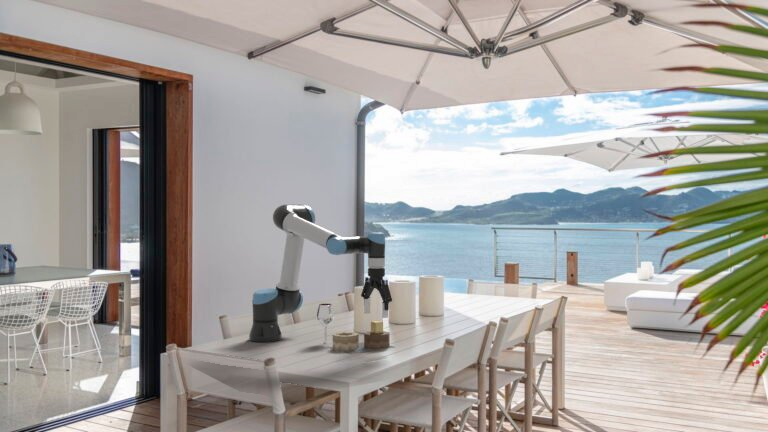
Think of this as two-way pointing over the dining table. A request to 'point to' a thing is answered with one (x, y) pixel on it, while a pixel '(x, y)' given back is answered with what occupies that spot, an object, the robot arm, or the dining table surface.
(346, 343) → the beech bead
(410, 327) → the dining table surface
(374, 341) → the walnut bead
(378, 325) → the yellow peg
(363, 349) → the mat
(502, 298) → the dining table surface
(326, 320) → the wineglass
